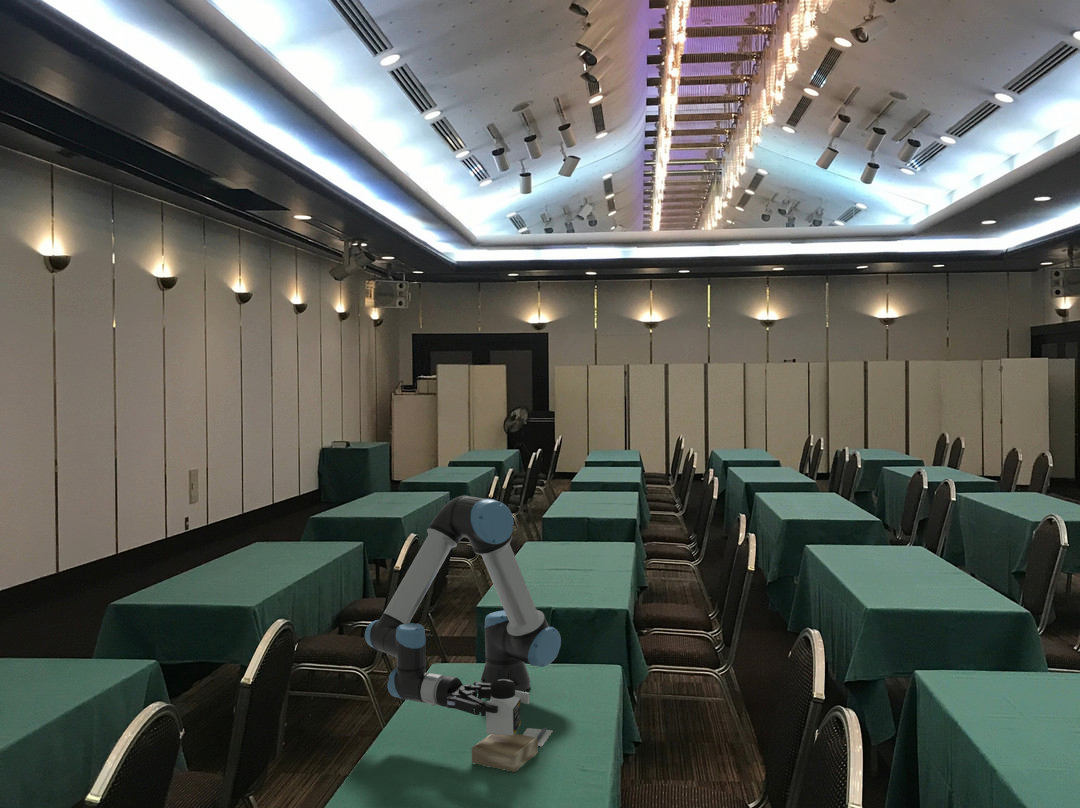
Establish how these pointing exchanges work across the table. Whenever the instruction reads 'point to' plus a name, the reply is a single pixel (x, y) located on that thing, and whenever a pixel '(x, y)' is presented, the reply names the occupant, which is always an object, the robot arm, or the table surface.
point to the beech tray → (505, 751)
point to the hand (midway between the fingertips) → (519, 704)
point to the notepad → (538, 734)
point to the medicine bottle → (504, 694)
